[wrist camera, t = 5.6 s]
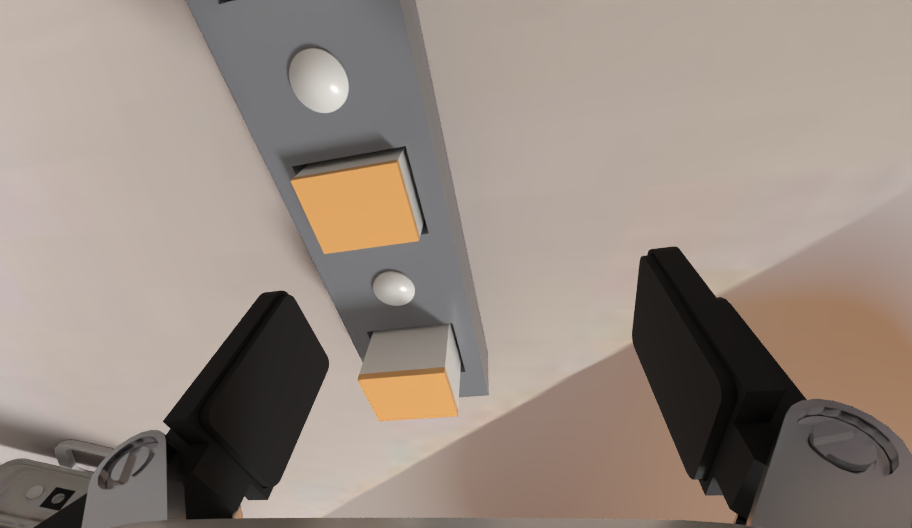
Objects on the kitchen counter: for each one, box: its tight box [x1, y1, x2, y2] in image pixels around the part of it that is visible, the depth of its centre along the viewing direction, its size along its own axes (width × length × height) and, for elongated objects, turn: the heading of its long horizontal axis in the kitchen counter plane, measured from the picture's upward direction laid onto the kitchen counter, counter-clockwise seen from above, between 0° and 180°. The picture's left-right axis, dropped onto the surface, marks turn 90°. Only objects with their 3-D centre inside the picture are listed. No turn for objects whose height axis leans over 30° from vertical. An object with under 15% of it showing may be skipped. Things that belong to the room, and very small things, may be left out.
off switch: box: [358, 323, 461, 421], centre depth 24 cm, size 5×4×4 cm
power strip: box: [186, 0, 489, 397], centre depth 20 cm, size 8×32×4 cm, turn 11°
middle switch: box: [291, 146, 425, 254], centre depth 19 cm, size 5×4×4 cm
